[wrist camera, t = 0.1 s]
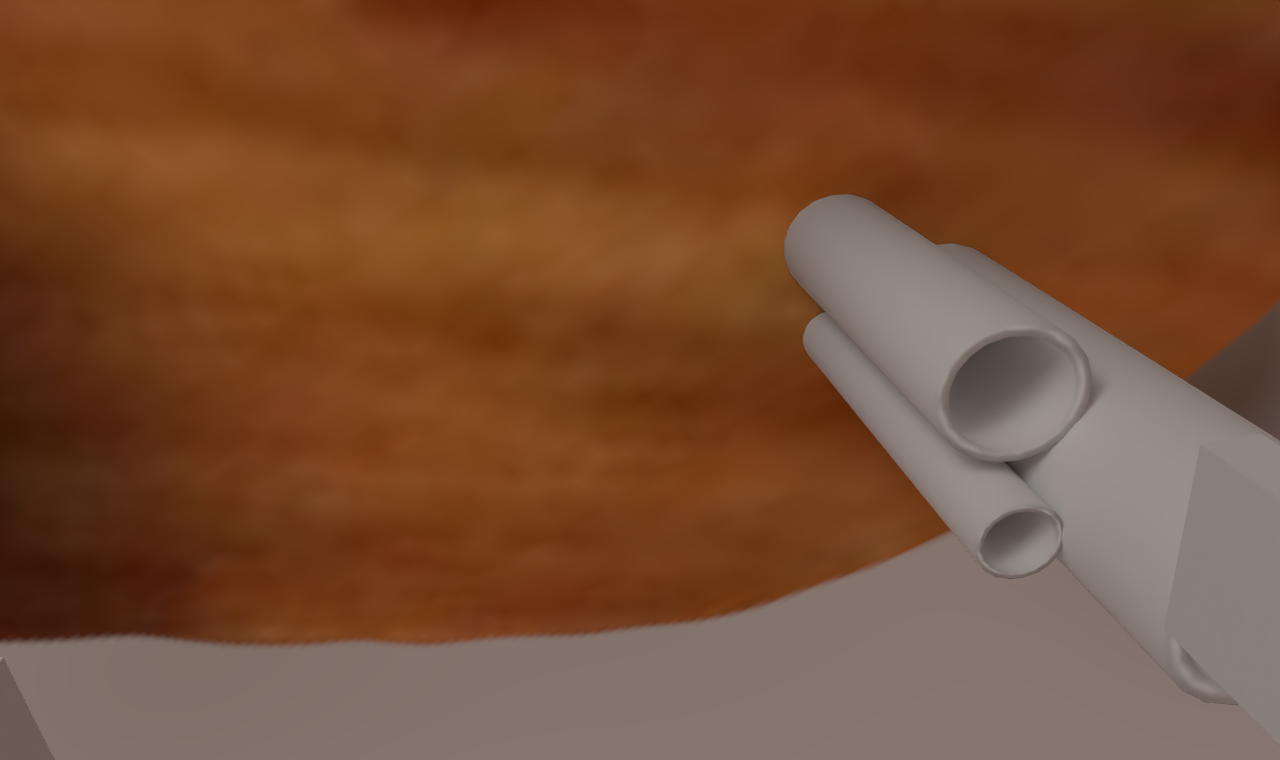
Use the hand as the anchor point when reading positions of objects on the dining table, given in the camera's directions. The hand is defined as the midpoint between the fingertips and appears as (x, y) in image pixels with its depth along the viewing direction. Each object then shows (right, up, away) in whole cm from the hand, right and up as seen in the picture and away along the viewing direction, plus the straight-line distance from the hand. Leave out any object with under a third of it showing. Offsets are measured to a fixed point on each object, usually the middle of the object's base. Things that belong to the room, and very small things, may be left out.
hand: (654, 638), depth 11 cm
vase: (+10, +6, +31) cm, 33 cm away
